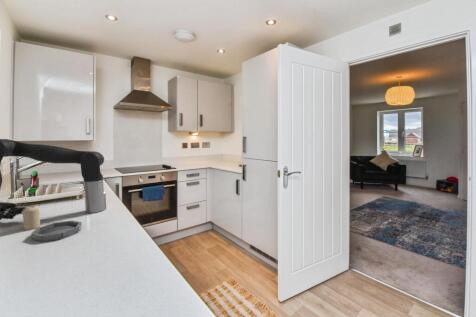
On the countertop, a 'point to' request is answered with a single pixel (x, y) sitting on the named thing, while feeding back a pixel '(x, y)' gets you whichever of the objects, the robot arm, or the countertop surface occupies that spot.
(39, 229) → the saucer
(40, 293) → the countertop surface
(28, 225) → the candle
